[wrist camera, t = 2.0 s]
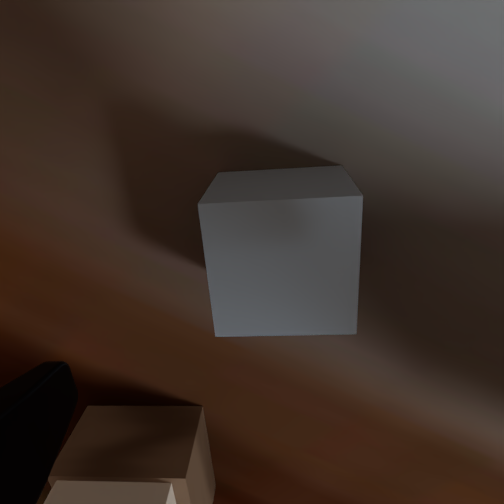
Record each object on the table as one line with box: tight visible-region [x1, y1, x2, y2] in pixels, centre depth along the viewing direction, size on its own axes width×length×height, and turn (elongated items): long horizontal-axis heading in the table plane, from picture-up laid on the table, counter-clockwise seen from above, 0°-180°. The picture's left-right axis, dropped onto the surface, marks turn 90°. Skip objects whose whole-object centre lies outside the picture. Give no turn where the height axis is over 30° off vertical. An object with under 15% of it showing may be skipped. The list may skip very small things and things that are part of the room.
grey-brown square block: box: [48, 406, 216, 504], centre depth 19 cm, size 6×6×4 cm
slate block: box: [198, 165, 363, 337], centre depth 13 cm, size 4×4×4 cm
